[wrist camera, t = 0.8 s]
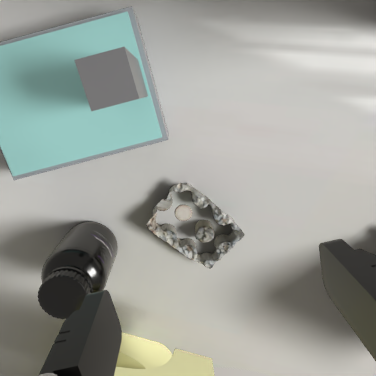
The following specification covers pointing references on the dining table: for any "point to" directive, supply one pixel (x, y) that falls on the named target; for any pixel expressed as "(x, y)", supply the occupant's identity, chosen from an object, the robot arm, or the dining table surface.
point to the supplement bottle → (77, 268)
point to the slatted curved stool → (158, 360)
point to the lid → (73, 95)
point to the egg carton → (201, 228)
